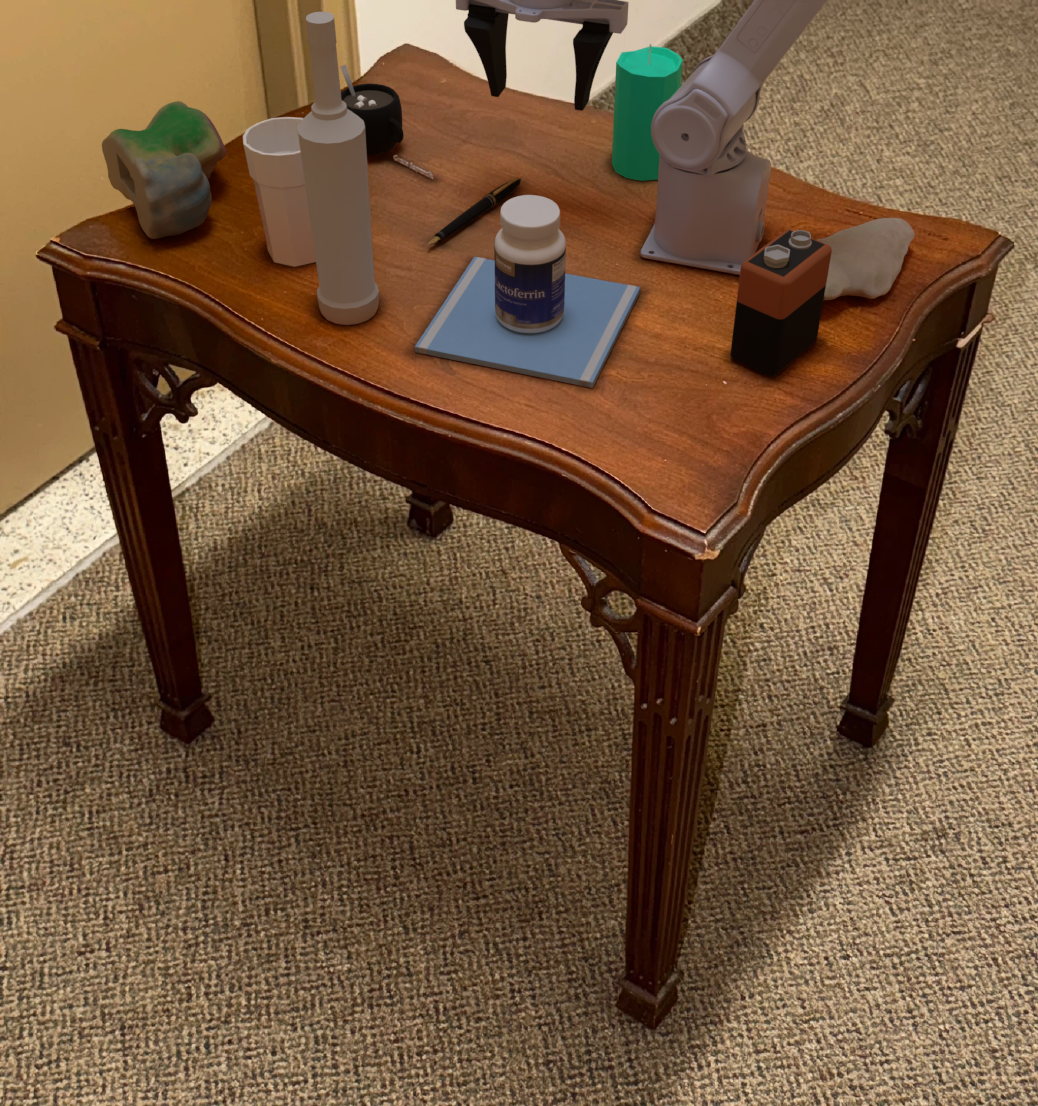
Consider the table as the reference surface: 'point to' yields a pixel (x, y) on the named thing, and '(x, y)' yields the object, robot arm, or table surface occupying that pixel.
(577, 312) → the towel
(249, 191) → the table surface
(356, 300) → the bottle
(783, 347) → the battery
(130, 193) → the sculpture
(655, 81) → the candle
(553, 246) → the pill bottle
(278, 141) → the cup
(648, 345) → the table surface
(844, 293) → the stone tool
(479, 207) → the fountain pen
